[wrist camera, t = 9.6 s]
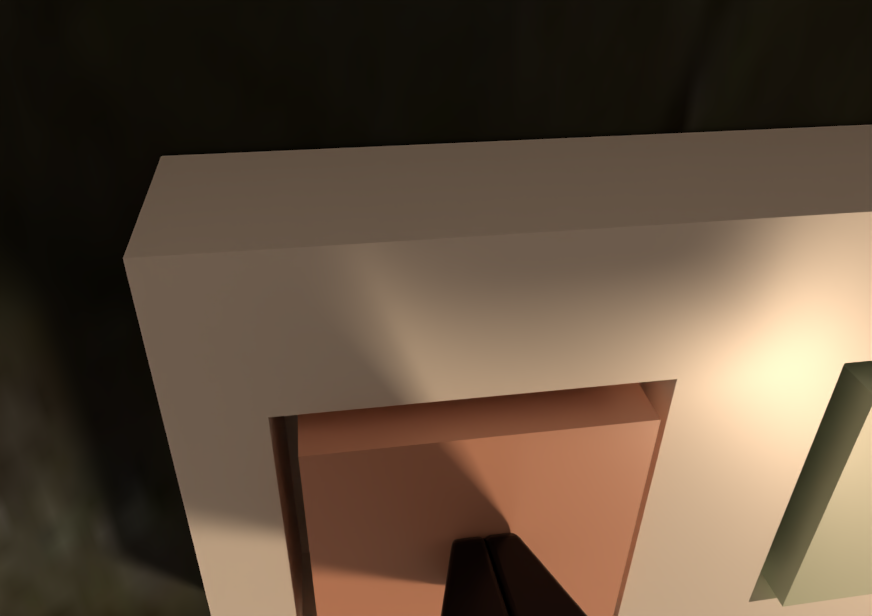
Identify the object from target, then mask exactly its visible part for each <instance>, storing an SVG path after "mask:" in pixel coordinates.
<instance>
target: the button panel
mask: <svg viewBox="0 0 872 616" xmlns="http://www.w3.org/2000/svg"><path fill="white" fill-rule="evenodd" d="M123 261H124V265H125V269H126V273H127V277H128V282H129V286H130V290H131V294H132V298H133V302H134V306H135V310H136V314H137V318H138V322H139V326H140V330H141V334H142V338H143V342H144V346H145V350H146V354H147V358H148V362H149V366H150V370H151V374H152V379H153V383H154V387H155V391H156V395H157V399H158V403H159V407H160V411H161V415H162V419H163V423H164V427H165V431H166V435H167V439H168V443H169V447H170V451H171V455H172V459H173V463H174V467H175V471H176V476H177V480H178V484H179V488H180V492H181V496H182V500H183V504H184V508H185V512H186V516H187V520H188V524H189V528H190V532H191V536H192V540H193V544H194V548H195V552H196V556H197V560H198V564H199V568H200V573H201V577H202V581H203V585H204V589H205V593H206V597H207V601H208V605H209V609H210V613H211V616H317V611H316V603H315V594H314V586H313V577H312V569H311V561H310V552H309V544H308V535H307V527H306V518H305V510H304V501H303V493H302V484H301V476H300V467H299V459H298V415H300V414H311V413H321V412H332V411H342V410H353V409H364V408H374V407H385V406H395V405H406V404H417V403H427V402H438V401H449V400H459V399H470V398H480V397H491V396H502V395H512V394H523V393H533V392H544V391H555V390H565V389H576V388H586V387H597V386H608V385H618V384H629V383H639V385H640V386H641V388H642V390H643V391H644V393H645V395H646V396H647V398H648V399H649V401H650V403H651V404H652V406H653V408H654V409H655V411H656V413H657V414H658V416H659V418H660V419H661V421H660V425H659V429H658V433H657V438H656V442H655V446H654V450H653V454H652V458H651V462H650V466H649V470H648V475H647V479H646V483H645V487H644V491H643V495H642V499H641V503H640V507H639V511H638V516H637V520H636V524H635V528H634V532H633V536H632V540H631V544H630V548H629V553H628V557H627V561H626V565H625V569H624V573H623V577H622V581H621V585H620V589H619V594H618V598H617V602H616V606H615V610H614V614H613V616H872V594H868V595H861V596H854V597H847V598H840V599H833V600H826V601H819V602H812V603H805V604H798V605H791V606H784V607H782V605H781V604H780V602H779V600H778V599H777V597H776V595H775V594H774V592H773V591H772V589H771V587H770V586H769V584H768V583H767V581H766V579H765V578H764V576H763V574H762V573H761V570H762V567H763V565H764V562H765V560H766V557H767V555H768V552H769V550H770V547H771V545H772V542H773V540H774V537H775V535H776V532H777V530H778V527H779V525H780V522H781V520H782V517H783V515H784V512H785V510H786V507H787V505H788V502H789V500H790V497H791V495H792V492H793V490H794V488H795V485H796V483H797V480H798V478H799V475H800V473H801V470H802V468H803V465H804V463H805V460H806V458H807V455H808V453H809V450H810V448H811V445H812V443H813V440H814V438H815V435H816V433H817V430H818V428H819V425H820V423H821V420H822V418H823V415H824V413H825V410H826V408H827V405H828V403H829V400H830V398H831V395H832V393H833V391H834V388H835V386H836V383H837V381H838V378H839V376H840V373H841V371H842V368H843V366H844V363H852V362H862V361H872V125H850V126H828V127H805V128H783V129H760V130H737V131H715V132H692V133H670V134H647V135H624V136H602V137H579V138H557V139H534V140H511V141H489V142H466V143H443V144H421V145H398V146H376V147H353V148H330V149H308V150H285V151H263V152H240V153H217V154H195V155H172V156H161V158H160V160H159V163H158V166H157V168H156V171H155V174H154V176H153V179H152V182H151V184H150V187H149V190H148V192H147V195H146V198H145V200H144V203H143V206H142V208H141V211H140V214H139V216H138V219H137V222H136V224H135V227H134V230H133V233H132V235H131V238H130V241H129V243H128V246H127V249H126V251H125V254H124V257H123Z"/></svg>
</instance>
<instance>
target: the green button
mask: <svg viewBox="0 0 872 616" xmlns="http://www.w3.org/2000/svg"><path fill="white" fill-rule="evenodd" d="M761 573H762V574H763V576H764V578H765V579H766V581H767V583H768V584H769V586H770V587H771V589H772V591H773V592H774V594H775V595H776V597H777V599H778V600H779V602H780V604H781V605H782V607H784V606H791V605H798V604H805V603H812V602H819V601H826V600H833V599H840V598H847V597H854V596H861V595H868V594H872V361H862V362H852V363H844V366H843V368H842V371H841V373H840V376H839V378H838V381H837V383H836V386H835V388H834V391H833V393H832V395H831V398H830V400H829V403H828V405H827V408H826V410H825V413H824V415H823V418H822V420H821V423H820V425H819V428H818V430H817V433H816V435H815V438H814V440H813V443H812V445H811V448H810V450H809V453H808V455H807V458H806V460H805V463H804V465H803V468H802V470H801V473H800V475H799V478H798V480H797V483H796V485H795V488H794V490H793V492H792V495H791V497H790V500H789V502H788V505H787V507H786V510H785V512H784V515H783V517H782V520H781V522H780V525H779V527H778V530H777V532H776V535H775V537H774V540H773V542H772V545H771V547H770V550H769V552H768V555H767V557H766V560H765V562H764V565H763V567H762V570H761Z"/></svg>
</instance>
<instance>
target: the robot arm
mask: <svg viewBox="0 0 872 616" xmlns="http://www.w3.org/2000/svg"><path fill="white" fill-rule="evenodd" d="M441 616H587V615H586V613H585V612H584V611H583V610H582V609H581V608H580V606H579V605H578V604H577V603H576V602H575V601H574V600H573V598H572V597H571V596H570V595H569V594H568V593H567V591H566V590H565V589H564V588H563V587H562V586H561V584H560V583H559V582H558V581H557V580H556V579H555V578H554V576H553V575H552V574H551V573H550V572H549V571H548V569H547V568H546V567H545V566H544V565H543V564H542V562H541V561H540V560H539V559H538V558H537V557H536V555H535V554H534V553H533V552H532V551H531V550H530V549H529V547H528V546H527V545H526V544H525V543H524V542H523V540H522V539H521V538H520V537H519V536H518V535H517V534H514V533H502V534H494V535H488V536H486V537H485V539H483V538H482V537H478V536H477V537H469V538H460V539H455V540H454V541H453V542H452V546H451V552H450V558H449V565H448V571H447V578H446V584H445V591H444V598H443V604H442V611H441Z"/></svg>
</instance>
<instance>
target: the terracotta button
mask: <svg viewBox="0 0 872 616" xmlns="http://www.w3.org/2000/svg"><path fill="white" fill-rule="evenodd" d="M660 421H661V419H660V418H659V416H658V414H657V413H656V411H655V409H654V408H653V406H652V404H651V403H650V401H649V399H648V398H647V396H646V395H645V393H644V391H643V390H642V388H641V386H640V385H639V383H629V384H618V385H608V386H597V387H586V388H576V389H565V390H555V391H544V392H533V393H523V394H512V395H502V396H491V397H480V398H470V399H459V400H449V401H438V402H427V403H417V404H406V405H395V406H385V407H374V408H364V409H353V410H342V411H332V412H321V413H311V414H300V415H298V459H299V467H300V476H301V484H302V493H303V501H304V510H305V518H306V527H307V535H308V544H309V552H310V561H311V569H312V577H313V586H314V594H315V603H316V611H317V616H441V611H442V604H443V598H444V591H445V584H446V578H447V571H448V565H449V558H450V552H451V546H452V542H453V541H454V540H455V539H460V538H469V537H477V536H478V537H482V538H483V539H485V537H486V536H488V535H494V534H502V533H514V534H517V535H518V536H519V537H520V538H521V539H522V540H523V542H524V543H525V544H526V545H527V546H528V547H529V549H530V550H531V551H532V552H533V553H534V554H535V555H536V557H537V558H538V559H539V560H540V561H541V562H542V564H543V565H544V566H545V567H546V568H547V569H548V571H549V572H550V573H551V574H552V575H553V576H554V578H555V579H556V580H557V581H558V582H559V583H560V584H561V586H562V587H563V588H564V589H565V590H566V591H567V593H568V594H569V595H570V596H571V597H572V598H573V600H574V601H575V602H576V603H577V604H578V605H579V606H580V608H581V609H582V610H583V611H584V612H585V613H586V615H587V616H613V614H614V610H615V606H616V602H617V598H618V594H619V589H620V585H621V581H622V577H623V573H624V569H625V565H626V561H627V557H628V553H629V548H630V544H631V540H632V536H633V532H634V528H635V524H636V520H637V516H638V511H639V507H640V503H641V499H642V495H643V491H644V487H645V483H646V479H647V475H648V470H649V466H650V462H651V458H652V454H653V450H654V446H655V442H656V438H657V433H658V429H659V425H660Z"/></svg>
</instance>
